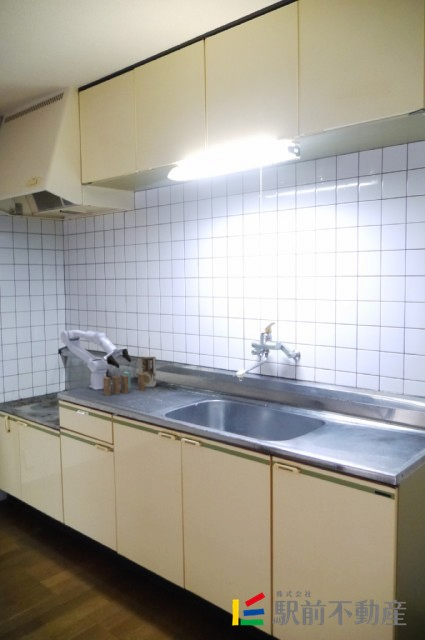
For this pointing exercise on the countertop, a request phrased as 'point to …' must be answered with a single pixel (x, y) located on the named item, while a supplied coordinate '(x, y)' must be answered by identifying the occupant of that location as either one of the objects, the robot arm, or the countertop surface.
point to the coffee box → (148, 370)
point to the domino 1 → (107, 386)
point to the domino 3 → (128, 379)
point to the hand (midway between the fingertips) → (124, 363)
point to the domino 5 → (141, 381)
